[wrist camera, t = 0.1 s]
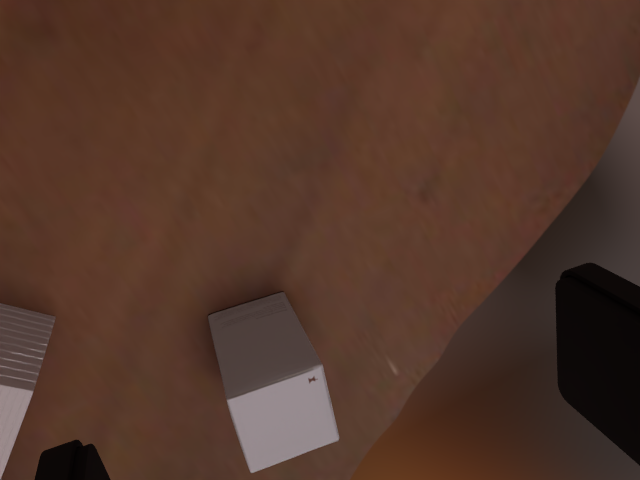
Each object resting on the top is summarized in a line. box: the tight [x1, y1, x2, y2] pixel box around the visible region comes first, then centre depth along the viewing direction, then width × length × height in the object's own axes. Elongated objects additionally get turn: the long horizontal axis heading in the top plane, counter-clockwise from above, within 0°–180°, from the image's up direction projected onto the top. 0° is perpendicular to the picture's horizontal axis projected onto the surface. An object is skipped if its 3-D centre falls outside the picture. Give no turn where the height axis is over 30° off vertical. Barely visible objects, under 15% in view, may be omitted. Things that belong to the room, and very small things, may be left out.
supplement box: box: [208, 292, 339, 473], centre depth 46 cm, size 7×7×13 cm
